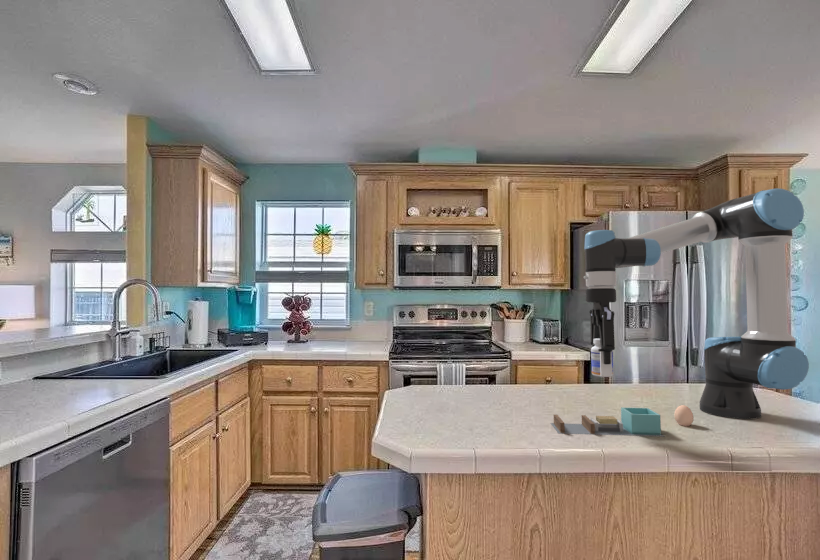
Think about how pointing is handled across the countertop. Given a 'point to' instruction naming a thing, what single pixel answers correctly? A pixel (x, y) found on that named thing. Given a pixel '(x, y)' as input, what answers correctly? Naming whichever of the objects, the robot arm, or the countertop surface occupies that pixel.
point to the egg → (683, 415)
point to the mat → (582, 430)
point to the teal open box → (641, 421)
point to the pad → (606, 419)
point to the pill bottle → (597, 358)
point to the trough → (585, 422)
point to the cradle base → (608, 426)
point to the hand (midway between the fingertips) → (602, 374)
